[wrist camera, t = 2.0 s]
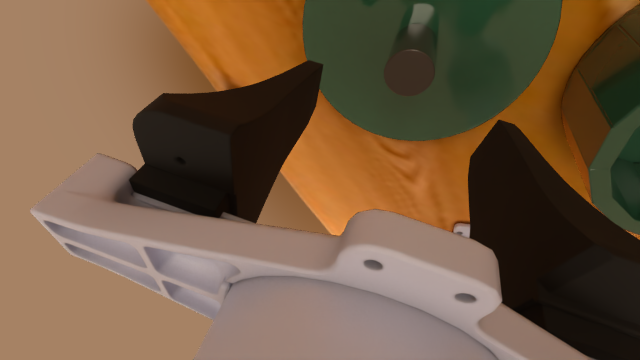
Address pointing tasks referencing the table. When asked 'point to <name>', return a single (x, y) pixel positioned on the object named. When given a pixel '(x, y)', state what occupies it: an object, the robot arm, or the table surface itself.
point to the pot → (608, 121)
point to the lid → (427, 60)
